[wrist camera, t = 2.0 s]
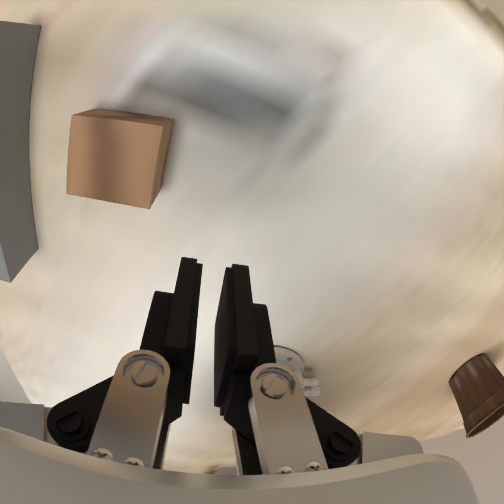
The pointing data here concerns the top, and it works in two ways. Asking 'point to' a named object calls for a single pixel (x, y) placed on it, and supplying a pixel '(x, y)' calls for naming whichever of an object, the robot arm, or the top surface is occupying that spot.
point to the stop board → (16, 147)
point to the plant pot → (478, 394)
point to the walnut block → (117, 156)
